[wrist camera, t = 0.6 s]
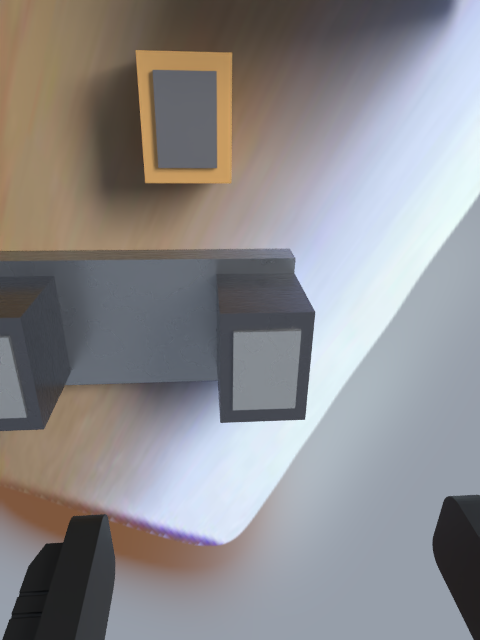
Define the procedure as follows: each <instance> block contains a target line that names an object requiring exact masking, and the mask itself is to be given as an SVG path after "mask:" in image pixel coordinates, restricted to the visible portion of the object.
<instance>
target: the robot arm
mask: <svg viewBox="0 0 480 640" xmlns="http://www.w3.org/2000/svg"><path fill="white" fill-rule="evenodd" d="M433 553H434V557H435V560H436V563H437V566H438V568H439V570H440V572H441V574H442V576H443V578H444V580H445V582H446V584H447V586H448V588H449V590H450V592H451V594H452V596H453V598H454V600H455V602H456V605H457V607H458V608H459V611H460V613H461V614H462V617H463V618H464V621H465V623H466V625H467V627H468V629H469V631H470V633H471V635H472V637H473V639H474V640H480V495H467V496H466V495H465V496H448V497H446V498H445V500H444V502H443V505H442V509H441V512H440V516H439V519H438V522H437V526H436V529H435V532H434V536H433ZM114 579H115V555H114V549H113V544H112V538H111V532H110V527H109V521H108V517H107V515H106V514H104V515H86V516H73V517H72V518H71V520H70V523H69V525H68V529H67V532H66V536H65V539H64V542H63V543H50V544H46V545H45V546H44V547H43V548H42V550H41V551H40V552H39V554H38V555H37V556H36V557H35V559H34V560H33V561H32V563H31V564H30V565H29V567H28V569H27V572H26V575H25V578H24V581H23V583H22V586H21V589H20V594H19V597H17V600H16V603H15V606H14V609H13V611H12V618H11V619H10V620H9V623H8V625H7V628H6V631H5V634H4V637H3V640H104V639H105V634H106V628H107V622H108V616H109V611H110V605H111V599H112V593H113V587H114Z"/></svg>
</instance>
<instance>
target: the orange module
mask: <svg viewBox="0 0 480 640" xmlns="http://www.w3.org/2000/svg"><path fill="white" fill-rule="evenodd" d="M136 62H137V76H138V90H139V104H140V118H141V132H142V145H143V159H144V173H145V183H231V156H232V53H230V52H189V51H147V50H136Z"/></svg>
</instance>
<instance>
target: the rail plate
mask: <svg viewBox="0 0 480 640" xmlns="http://www.w3.org/2000/svg"><path fill="white" fill-rule="evenodd" d="M294 269H295V257H294V255H293V254H292V252H291V250H290V249H216V250H97V251H0V431H11V430H38V429H44V428H45V426H46V424H47V422H48V420H49V417H50V415H51V413H52V411H53V409H54V407H55V405H56V403H57V401H58V398H59V396H60V394H61V392H62V390H63V388H64V386H65V385H85V384H118V383H151V382H185V381H218V391H219V407H220V423H227V422H254V421H281V420H305V414H306V404H307V393H308V382H309V372H310V361H311V351H312V340H313V329H314V319H315V311H314V309H313V307H312V305H311V303H310V302H309V300H308V298H307V296H306V294H305V292H304V290H303V289H302V287H301V285H300V283H299V281H298V279H297V277H296V275H295V274H294Z"/></svg>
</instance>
